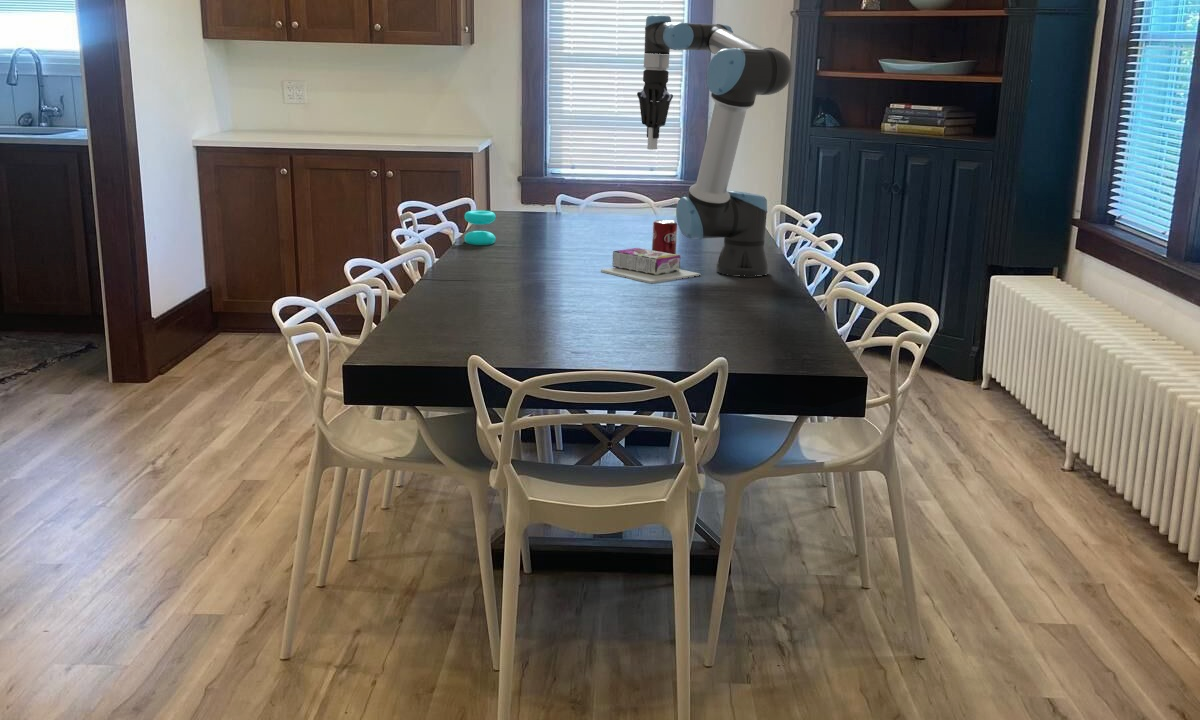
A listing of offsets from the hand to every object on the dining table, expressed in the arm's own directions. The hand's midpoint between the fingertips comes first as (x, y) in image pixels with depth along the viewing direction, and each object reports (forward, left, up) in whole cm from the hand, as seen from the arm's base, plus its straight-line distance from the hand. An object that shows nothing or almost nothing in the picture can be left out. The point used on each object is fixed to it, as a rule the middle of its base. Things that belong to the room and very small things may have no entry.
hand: (652, 149), depth 341 cm
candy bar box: (-12, +22, -29) cm, 38 cm away
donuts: (+44, +32, -33) cm, 64 cm away
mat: (-23, +22, -32) cm, 46 cm away
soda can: (-11, +4, -33) cm, 35 cm away
